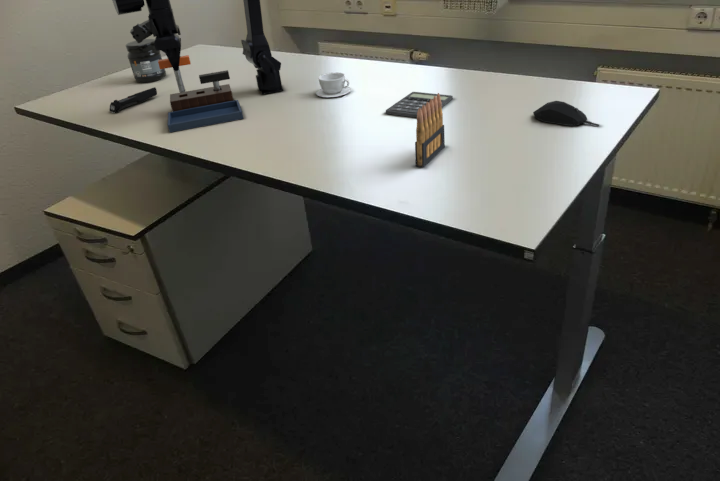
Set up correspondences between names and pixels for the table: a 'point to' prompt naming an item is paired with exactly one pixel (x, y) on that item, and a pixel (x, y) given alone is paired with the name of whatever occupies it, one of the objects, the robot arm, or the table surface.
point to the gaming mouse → (561, 114)
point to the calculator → (415, 103)
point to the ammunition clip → (429, 132)
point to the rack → (200, 97)
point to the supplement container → (145, 61)
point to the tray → (204, 115)
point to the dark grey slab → (214, 78)
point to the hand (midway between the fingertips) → (176, 69)
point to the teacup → (333, 85)
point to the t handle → (183, 61)
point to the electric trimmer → (132, 100)
